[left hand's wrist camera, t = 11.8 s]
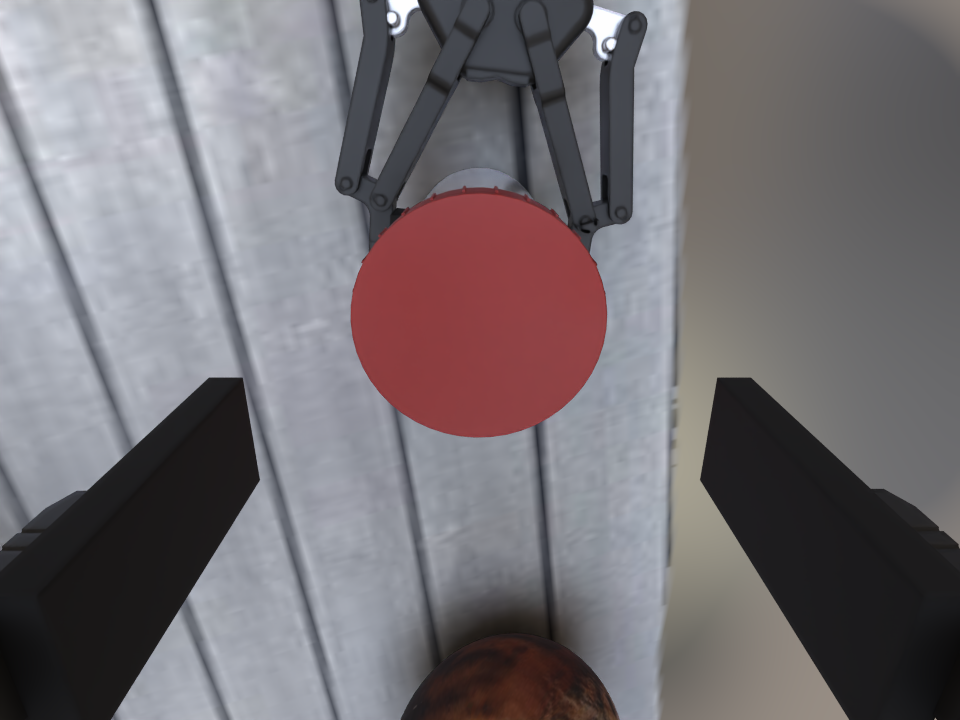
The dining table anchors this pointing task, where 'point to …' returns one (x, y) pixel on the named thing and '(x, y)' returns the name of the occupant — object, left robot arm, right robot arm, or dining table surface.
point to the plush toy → (512, 684)
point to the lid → (478, 313)
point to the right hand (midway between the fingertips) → (470, 331)
